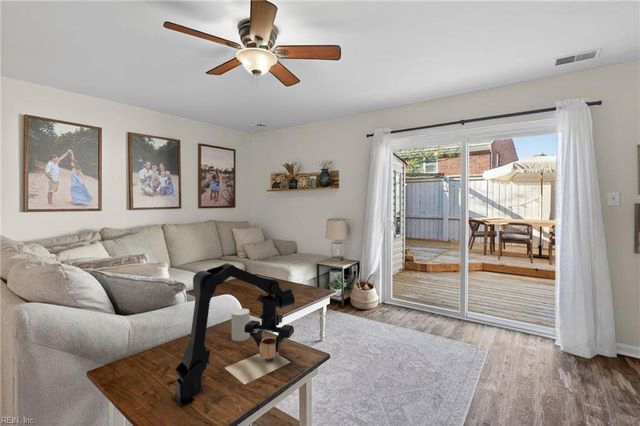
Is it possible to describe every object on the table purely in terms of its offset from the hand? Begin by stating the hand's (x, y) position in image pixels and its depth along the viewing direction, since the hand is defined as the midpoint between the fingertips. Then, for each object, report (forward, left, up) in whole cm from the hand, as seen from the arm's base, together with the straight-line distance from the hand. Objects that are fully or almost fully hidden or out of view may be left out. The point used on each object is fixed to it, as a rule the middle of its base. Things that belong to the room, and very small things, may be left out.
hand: (269, 350), depth 115 cm
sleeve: (0, 0, -1) cm, 1 cm away
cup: (+4, +28, -5) cm, 29 cm away
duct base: (-5, 0, -5) cm, 7 cm away
